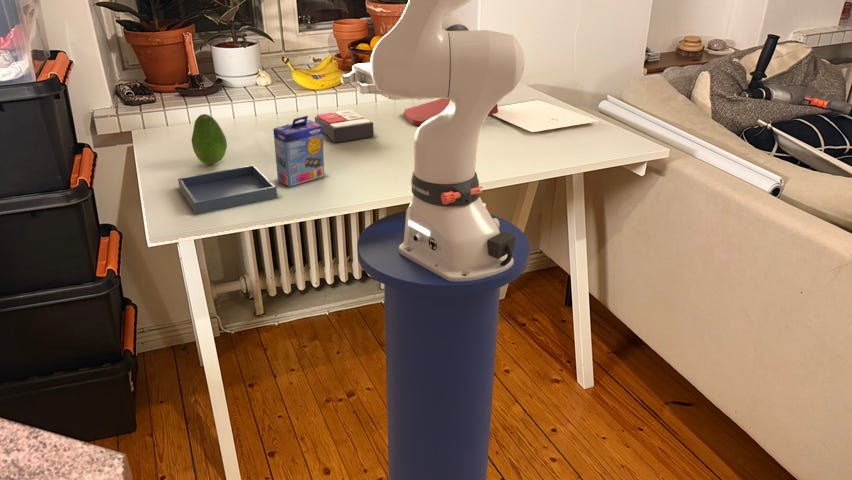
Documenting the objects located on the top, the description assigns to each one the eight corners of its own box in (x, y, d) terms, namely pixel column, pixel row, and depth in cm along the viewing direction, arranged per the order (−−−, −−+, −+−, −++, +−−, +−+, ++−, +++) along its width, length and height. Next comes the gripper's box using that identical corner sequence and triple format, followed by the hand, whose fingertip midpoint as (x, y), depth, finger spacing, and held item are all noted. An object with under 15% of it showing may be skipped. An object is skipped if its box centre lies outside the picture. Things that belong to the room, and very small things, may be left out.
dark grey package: (351, 108, 192) (373, 119, 180) (352, 123, 194) (374, 136, 182) (313, 113, 188) (333, 126, 176) (315, 129, 190) (335, 142, 178)
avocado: (190, 168, 164) (182, 118, 158) (202, 157, 171) (195, 108, 165) (223, 169, 163) (216, 119, 157) (233, 158, 170) (227, 109, 164)
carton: (418, 139, 190) (501, 114, 195) (416, 122, 188) (499, 97, 192) (403, 126, 200) (482, 103, 205) (400, 110, 198) (480, 87, 202)
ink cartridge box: (290, 188, 152) (284, 123, 145) (276, 181, 156) (269, 117, 149) (326, 176, 158) (322, 113, 151) (312, 170, 162) (308, 108, 155)
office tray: (277, 197, 148) (276, 186, 147) (196, 214, 141) (194, 203, 140) (255, 175, 160) (254, 164, 158) (179, 189, 153) (177, 178, 152)
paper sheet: (522, 136, 179) (523, 132, 179) (476, 110, 204) (476, 106, 203) (603, 125, 185) (603, 121, 184) (548, 101, 210) (548, 97, 209)
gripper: (385, 53, 165) (331, 60, 159) (429, 71, 149) (370, 80, 143) (385, 80, 168) (332, 88, 162) (428, 100, 152) (371, 110, 146)
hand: (350, 84), depth 153 cm, fingers open, 8 cm apart
